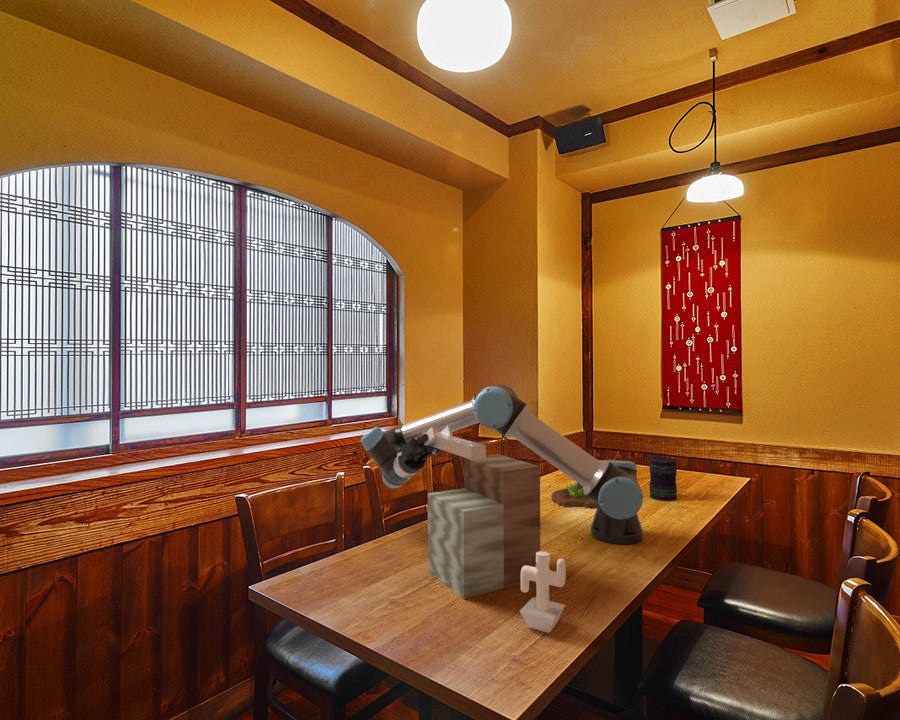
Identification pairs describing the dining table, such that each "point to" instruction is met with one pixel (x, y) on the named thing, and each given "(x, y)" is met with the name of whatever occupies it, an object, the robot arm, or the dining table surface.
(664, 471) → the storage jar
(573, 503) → the plant
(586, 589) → the dining table surface
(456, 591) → the two-step stand
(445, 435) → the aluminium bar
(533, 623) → the figurine
